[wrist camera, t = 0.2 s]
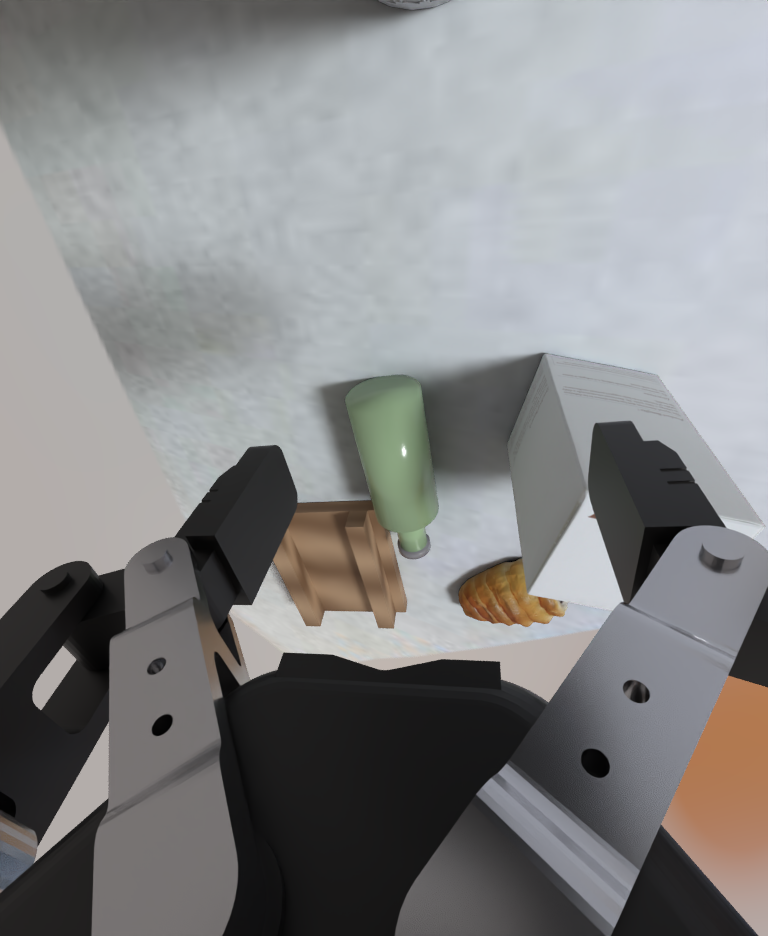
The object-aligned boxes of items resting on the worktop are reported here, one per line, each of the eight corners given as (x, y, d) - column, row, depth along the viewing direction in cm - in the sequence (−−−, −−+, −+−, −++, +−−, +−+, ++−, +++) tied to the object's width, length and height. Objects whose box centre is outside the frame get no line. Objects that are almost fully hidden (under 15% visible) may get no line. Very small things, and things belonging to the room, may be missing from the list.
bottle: (353, 378, 30) (337, 417, 27) (423, 371, 29) (417, 410, 25) (389, 525, 39) (381, 570, 35) (445, 524, 38) (443, 570, 34)
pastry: (477, 613, 45) (478, 648, 42) (445, 573, 42) (442, 608, 39) (571, 591, 41) (579, 628, 38) (542, 545, 38) (548, 582, 35)
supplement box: (503, 445, 32) (519, 596, 22) (543, 348, 27) (586, 487, 17) (605, 467, 32) (667, 628, 22) (664, 374, 27) (775, 527, 17)
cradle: (259, 504, 39) (246, 529, 37) (381, 499, 37) (375, 526, 34) (305, 600, 48) (297, 625, 45) (407, 601, 45) (403, 628, 43)
